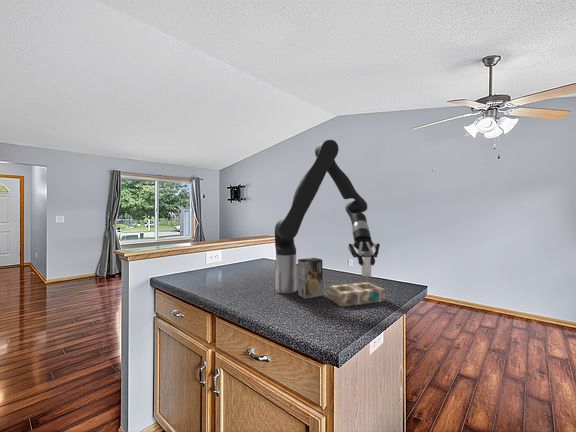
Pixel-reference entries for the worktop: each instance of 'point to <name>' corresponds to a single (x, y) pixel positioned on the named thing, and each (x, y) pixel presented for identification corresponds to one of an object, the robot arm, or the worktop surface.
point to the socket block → (356, 294)
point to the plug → (366, 263)
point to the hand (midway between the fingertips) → (367, 264)
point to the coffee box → (310, 277)
